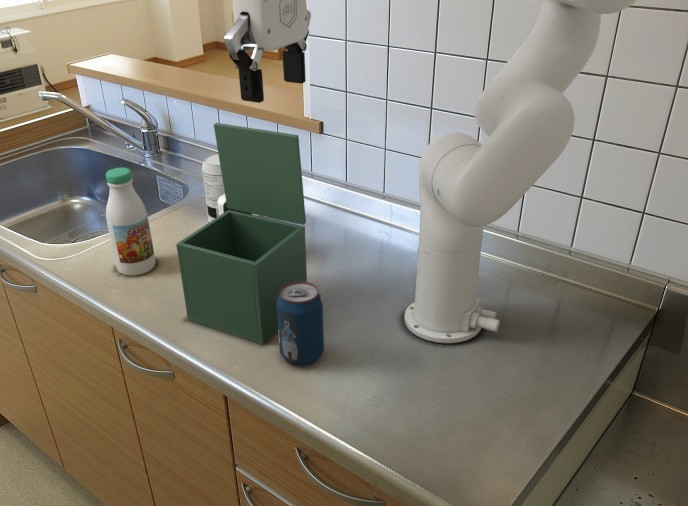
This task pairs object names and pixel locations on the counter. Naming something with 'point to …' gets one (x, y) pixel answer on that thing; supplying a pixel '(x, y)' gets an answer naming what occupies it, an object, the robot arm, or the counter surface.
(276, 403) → the counter surface
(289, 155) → the bread box lid
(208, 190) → the supplement can
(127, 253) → the milk bottle
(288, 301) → the soda can
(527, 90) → the robot arm
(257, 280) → the bread box
